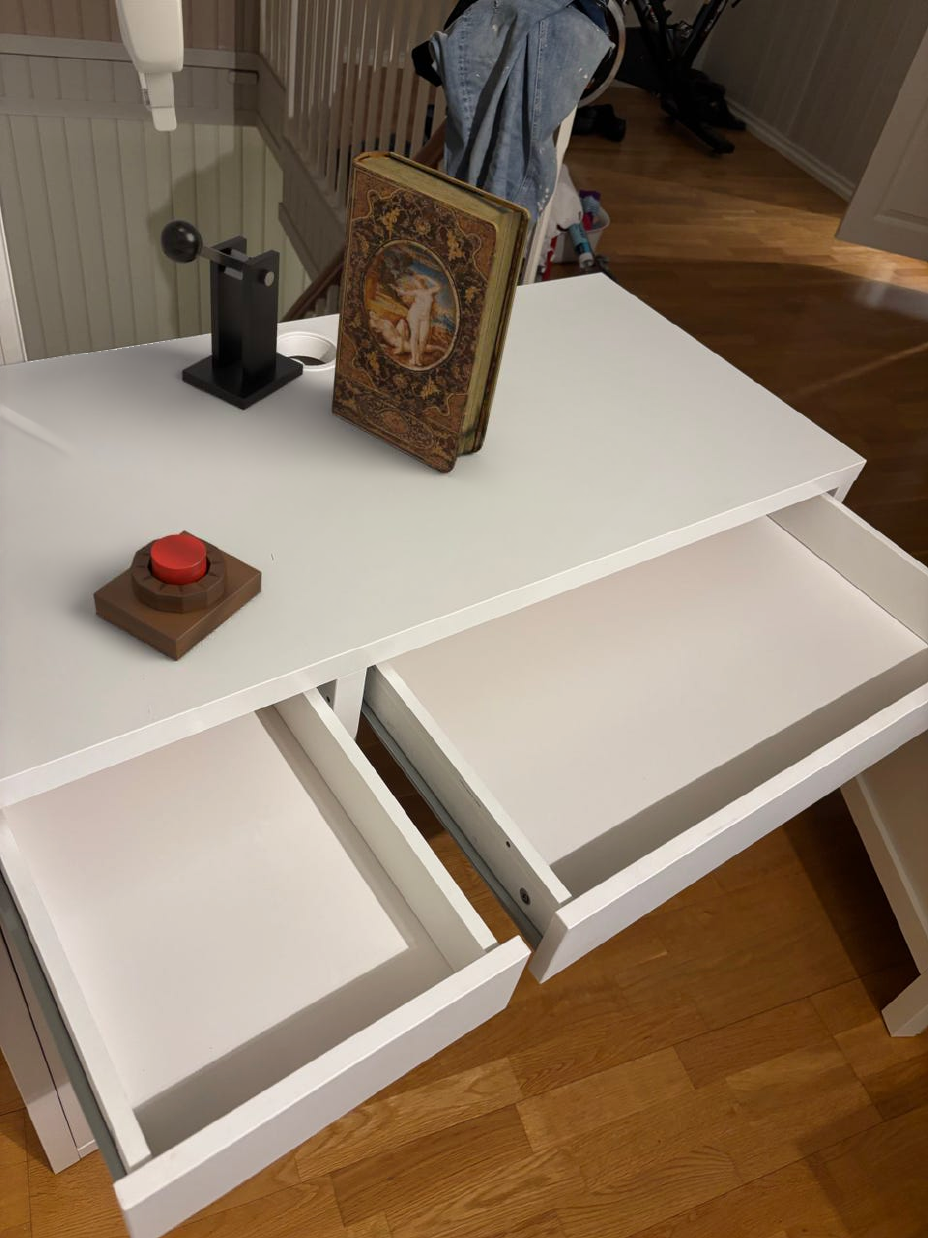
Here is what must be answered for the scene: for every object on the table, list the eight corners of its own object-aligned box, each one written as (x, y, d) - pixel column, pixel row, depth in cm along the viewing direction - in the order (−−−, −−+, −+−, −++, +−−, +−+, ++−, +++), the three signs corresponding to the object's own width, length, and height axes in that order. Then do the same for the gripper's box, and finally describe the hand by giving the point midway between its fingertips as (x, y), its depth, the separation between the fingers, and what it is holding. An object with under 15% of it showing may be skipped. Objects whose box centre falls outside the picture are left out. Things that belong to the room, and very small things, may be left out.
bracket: (243, 410, 96) (244, 280, 86) (182, 380, 98) (176, 249, 88) (303, 373, 102) (309, 249, 93) (244, 346, 104) (245, 222, 95)
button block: (176, 661, 70) (174, 623, 68) (95, 614, 72) (90, 575, 70) (261, 591, 77) (262, 554, 75) (185, 549, 79) (183, 512, 77)
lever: (178, 264, 81) (191, 222, 80) (145, 249, 82) (158, 208, 81) (261, 295, 93) (273, 259, 92) (232, 282, 94) (244, 246, 93)
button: (181, 593, 70) (180, 575, 69) (140, 570, 72) (138, 552, 70) (217, 566, 73) (217, 548, 72) (177, 544, 74) (176, 526, 73)
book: (323, 408, 98) (341, 157, 81) (356, 390, 102) (380, 146, 85) (451, 478, 93) (499, 226, 76) (481, 456, 97) (533, 211, 80)
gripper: (84, -80, 81) (117, 102, 89) (91, -78, 65) (129, 143, 73) (160, -79, 82) (185, 100, 91) (184, -76, 67) (212, 139, 75)
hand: (160, 120), depth 82 cm, fingers open, 8 cm apart
